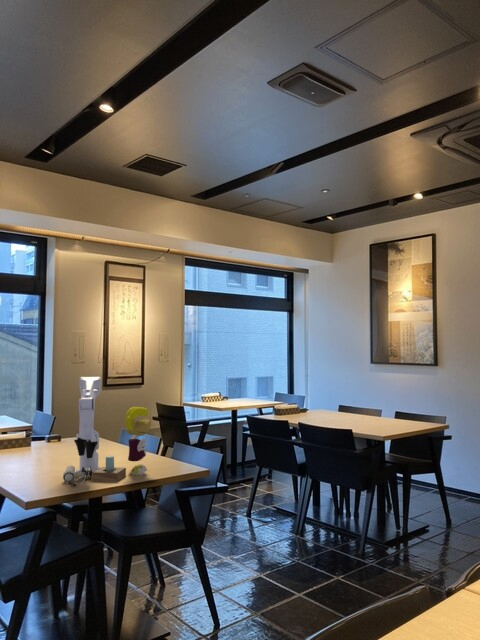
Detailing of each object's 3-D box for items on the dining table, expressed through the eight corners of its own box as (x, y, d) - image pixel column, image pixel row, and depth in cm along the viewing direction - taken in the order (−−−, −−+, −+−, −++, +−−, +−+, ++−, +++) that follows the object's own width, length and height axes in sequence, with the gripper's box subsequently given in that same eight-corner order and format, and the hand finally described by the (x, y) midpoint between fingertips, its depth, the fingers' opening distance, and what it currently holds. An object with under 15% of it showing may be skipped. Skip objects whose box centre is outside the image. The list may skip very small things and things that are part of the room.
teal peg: (104, 478, 219) (104, 457, 220) (108, 476, 223) (108, 456, 223) (111, 479, 218) (111, 457, 219) (115, 477, 222) (115, 456, 222)
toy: (149, 476, 222) (150, 408, 225) (122, 477, 221) (123, 408, 223) (150, 466, 244) (151, 403, 247) (125, 467, 242) (127, 404, 245)
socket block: (102, 474, 226) (102, 467, 226) (125, 475, 225) (125, 467, 225) (92, 480, 215) (92, 472, 216) (116, 481, 214) (116, 473, 214)
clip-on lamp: (89, 493, 207) (92, 474, 224) (91, 478, 206) (93, 460, 223) (59, 492, 204) (64, 472, 221) (61, 477, 203) (65, 459, 221)
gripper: (102, 425, 218) (102, 457, 217) (87, 422, 229) (86, 453, 228) (87, 427, 213) (86, 460, 212) (72, 424, 224) (71, 455, 223)
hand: (85, 456), depth 220 cm, fingers open, 7 cm apart
